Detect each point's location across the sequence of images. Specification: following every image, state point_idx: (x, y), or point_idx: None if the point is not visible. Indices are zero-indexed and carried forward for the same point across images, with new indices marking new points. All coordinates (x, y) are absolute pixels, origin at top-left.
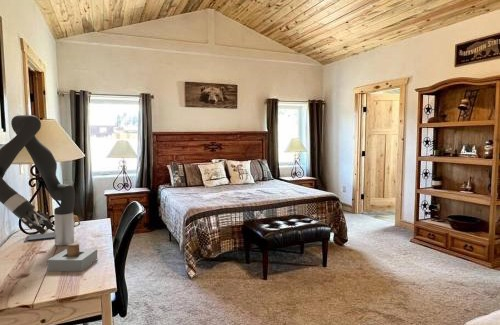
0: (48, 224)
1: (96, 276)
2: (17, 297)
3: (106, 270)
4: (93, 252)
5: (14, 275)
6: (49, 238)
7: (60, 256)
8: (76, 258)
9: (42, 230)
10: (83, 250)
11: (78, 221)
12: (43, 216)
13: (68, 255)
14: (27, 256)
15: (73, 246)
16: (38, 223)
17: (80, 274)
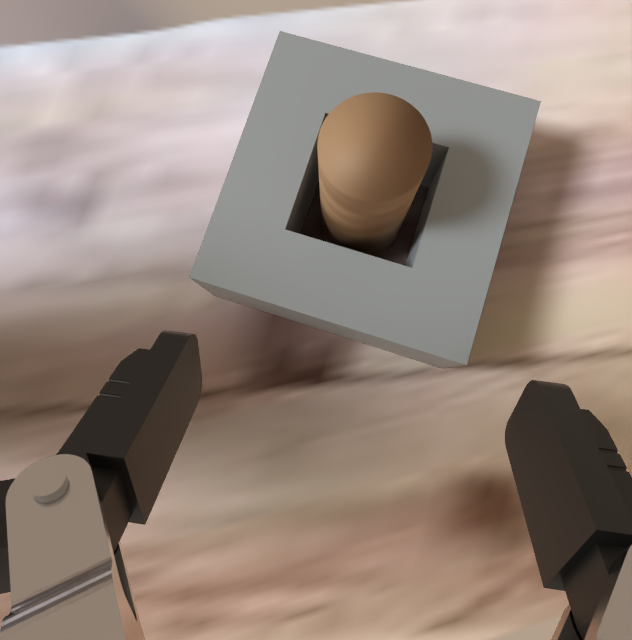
0: (163, 424)
1: (617, 52)
2: None
3: (525, 9)
4: (344, 53)
5: (473, 576)
6: None
7: (400, 279)
8: (488, 145)
9: (603, 432)
10: (282, 129)
11: None
12: (43, 629)
13: (402, 217)
14: None
15: (429, 134)
16: (608, 592)
17: (560, 147)
